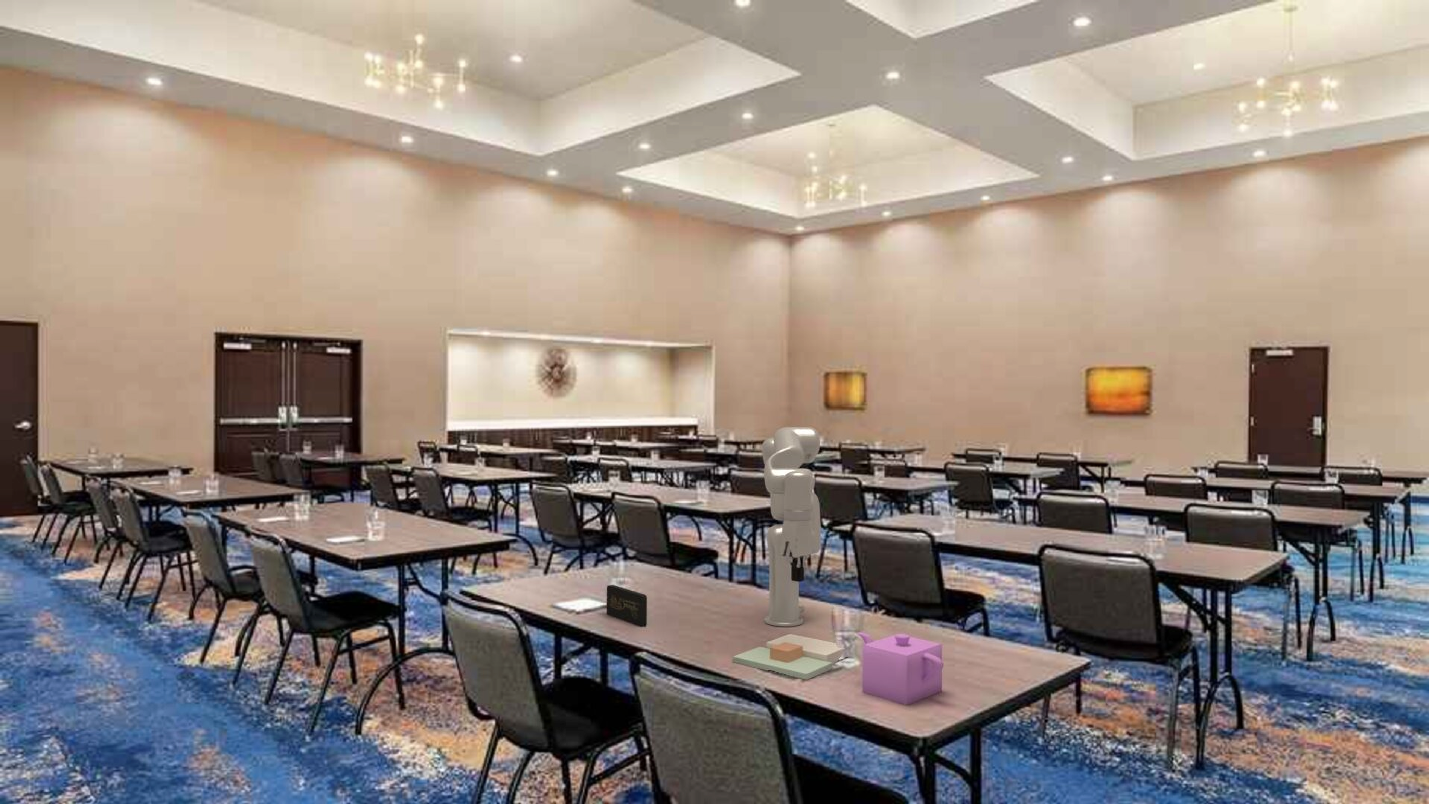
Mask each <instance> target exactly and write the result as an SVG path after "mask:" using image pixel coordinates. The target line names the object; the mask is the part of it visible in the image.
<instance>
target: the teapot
mask: <svg viewBox="0 0 1429 804" xmlns="http://www.w3.org/2000/svg"><path fill="white" fill-rule="evenodd" d="M857 635H859V636H860V637H861V639H862V640H863V641H864V644H863V645H862V646H861V648H862V649H861V650H862V651H861V652H862V654H861V655H862V657H861V658H862V659H861V660H862V665H861V666H862V667H861V668H862V670H861V673H862V674H861V676H862V677H861V678H862V679H861V680H862V681H861V683H862V685H861V688H862V689H861V692H862V693H865V694H867V695H871V696H874V697H877V698H881V699H884V700H888V701H891V702H894V703H897V704H901V705H903V706H909V705H911V704H913V703H916V702H919V701H921V700H923V699H926V698H928V697H931V696H933V695H936V694H938V693H941V692H942V691H943V668H944V662H943V644H942V643H939V642H933V641H930V640H925V639H922V638H921V639H920V638H916V637H912V636H910V635H909V634H905V633H896V634H895V635H890V636H887V637H883V638H881V639H878V640H873V638H872V637H871V636H870V634H868V633H865V632H861V631H860V632H857Z"/></svg>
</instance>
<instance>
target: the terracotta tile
mask: <svg viewBox="0 0 1429 804" xmlns="http://www.w3.org/2000/svg"><path fill="white" fill-rule="evenodd" d="M801 657H803V646H800V645H796V644H791V643H786V642H784V643H781V644H778V645H775V646H773V647H770V659H774V660H778V661H783V662H787V663H789V662H791V661H794V660H796V659H799V658H801Z"/></svg>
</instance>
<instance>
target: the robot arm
mask: <svg viewBox="0 0 1429 804" xmlns="http://www.w3.org/2000/svg"><path fill="white" fill-rule="evenodd" d="M820 447H821V439H820V434H819V432H818V431H817V430H816V429H815V428H813V427H810V426H807V427H806V426H803V427H802V426H801V427H800V426H797V427H795V426H786V427H781V428H780V429H778V430H776V432H775V433H774V435H773V437H769V438H767V439H765V440H764V441H763V443H762V446H761V451H762V452H761V454H762V461H763V464H764V470H763V472H764V473H763V477H764V484H765V489H766V490H767V492H768V493H769V496H770V497H769V500H770V501H769V502H770V513H771V516H772V518H773V519H774V520H777V521H783V523H782V524H775V525H772V526H771V527H769V528H768V530H767V533H766V543H767V550H768V551H767V552H768V560H769V561H768V562H769V564H768V565H769V566H768V567H769V574H768V575H769V577H768V578H769V580H768V581H769V582H768V583H769V589H768V590H769V592H768V594H769V596H768V598H769V601H768V602H769V604H768V605H769V606H768V607H769V610H768V612H769V615H766V616H765V617H764V621H763V622H765V624H767V625H770V626H775V627H795V626H799V625H800V626H801V625H802V624H803V623H804V618H803V616H800V614H801V613H803V612H805V611H806V607H805V606H804V605H800V606H799V602H800V601H799V598H800V597H799V595H800V594H799V593H800V591H799V590H800V589H799V587H800V583H801V582H803V581H804V579H805V566H806V561H807V559H809V558H810V556H811V555H814V554H817V553H819V552H820V550H821V547H822V530H821V529H822V527H821V509H820V508H821V506H820V502H819V498H818V496H817V494H816V493H815V492H813V489H815V484H816V480H815V479H816V478H815V474H813V471H812V470H811V469H808V468H800V467H801V466H802V465H803V464H811V463H812V462H814V461H815V460H816V457H817V455H818V453H819V451H820Z"/></svg>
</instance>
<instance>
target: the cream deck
mask: <svg viewBox="0 0 1429 804" xmlns="http://www.w3.org/2000/svg"><path fill="white" fill-rule="evenodd" d="M784 642H786V643H791V644H796V645H800V646H803V656H804V657H809V658H813V659H818V660H822V661H827V662H831V663H832V665H833V664H837V663H838V662H839V661H838V660H839V658H840V657H841V655H842V654H843V652H844V649H845V648H838V647H837V645H836V642H831V641H827V640H823V639H822V640H821V639H816V638H813V637H812V638H811V637H807V636H802V635H799V634H798V635H797V634H792V633H788V634H785V635H784V636H780V637H777V638H775V639H773V640H770V641H767V642H766V645H765V646H766V647H765V648H768V649H770V647H773V646H775V645H778V644H781V643H784ZM837 661H838V662H837Z"/></svg>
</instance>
